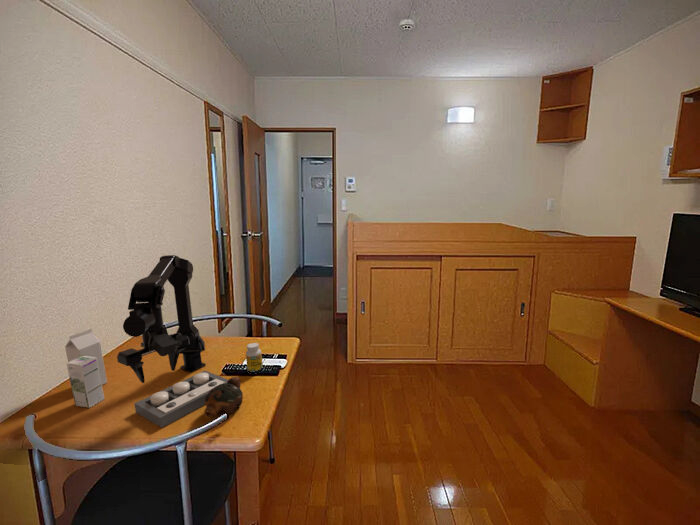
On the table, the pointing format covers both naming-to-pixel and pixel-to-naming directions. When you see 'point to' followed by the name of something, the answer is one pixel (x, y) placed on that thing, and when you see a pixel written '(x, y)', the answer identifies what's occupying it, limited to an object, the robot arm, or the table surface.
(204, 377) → the button
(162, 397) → the button
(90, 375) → the syrup box
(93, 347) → the milk carton
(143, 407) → the board
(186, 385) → the button
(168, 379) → the table surface
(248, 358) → the supplement bottle
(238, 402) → the decorative turtle
